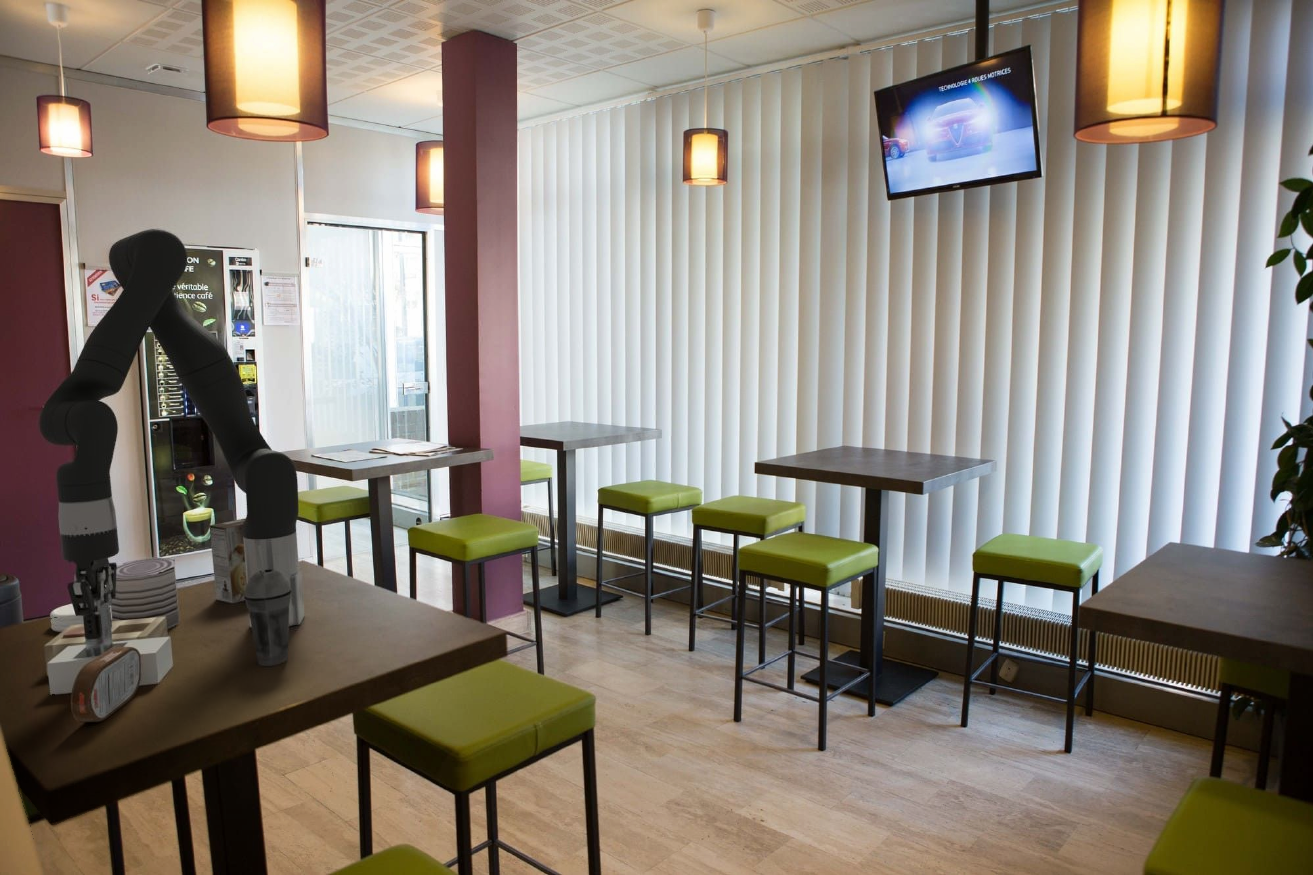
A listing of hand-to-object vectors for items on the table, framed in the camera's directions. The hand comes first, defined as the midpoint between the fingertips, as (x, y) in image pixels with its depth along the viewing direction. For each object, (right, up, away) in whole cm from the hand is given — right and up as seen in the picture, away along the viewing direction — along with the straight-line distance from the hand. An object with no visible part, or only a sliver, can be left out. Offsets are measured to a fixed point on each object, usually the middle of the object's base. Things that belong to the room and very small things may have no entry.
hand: (99, 633), depth 139 cm
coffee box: (+1, -3, +47) cm, 47 cm away
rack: (+2, -8, +1) cm, 8 cm away
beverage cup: (+24, -7, +8) cm, 26 cm away
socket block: (-5, -7, +11) cm, 14 cm away
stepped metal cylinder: (0, -6, +1) cm, 6 cm away
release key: (-9, -6, +10) cm, 14 cm away
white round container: (-23, -5, +31) cm, 39 cm away
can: (-9, -5, +28) cm, 30 cm away
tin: (+9, -9, -11) cm, 16 cm away
